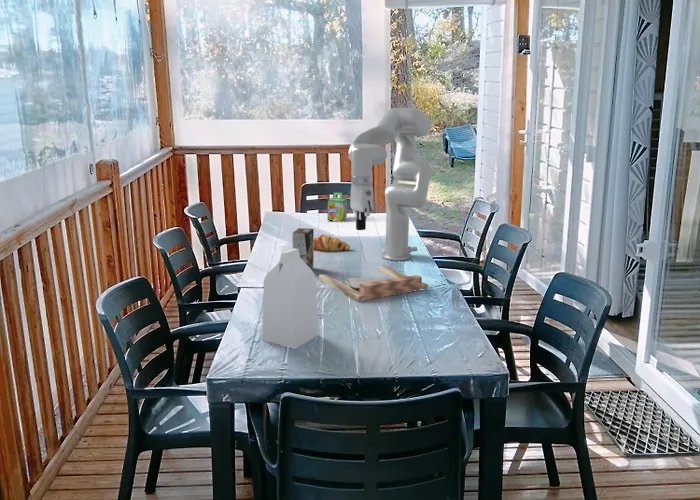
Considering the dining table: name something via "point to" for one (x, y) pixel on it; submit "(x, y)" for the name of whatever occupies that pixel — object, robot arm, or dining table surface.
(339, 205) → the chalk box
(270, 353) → the dining table surface
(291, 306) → the milk
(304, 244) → the coffee box
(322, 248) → the croissant
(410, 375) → the dining table surface
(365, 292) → the wooden frame
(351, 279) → the washcloth
